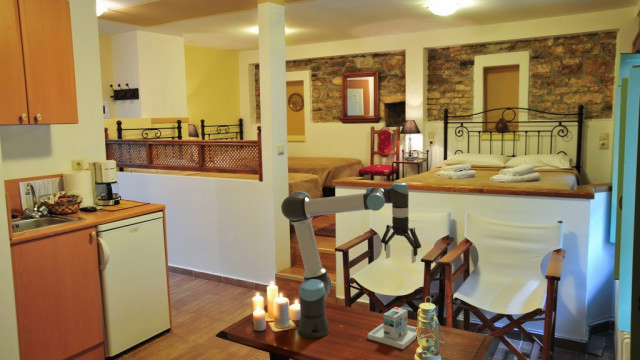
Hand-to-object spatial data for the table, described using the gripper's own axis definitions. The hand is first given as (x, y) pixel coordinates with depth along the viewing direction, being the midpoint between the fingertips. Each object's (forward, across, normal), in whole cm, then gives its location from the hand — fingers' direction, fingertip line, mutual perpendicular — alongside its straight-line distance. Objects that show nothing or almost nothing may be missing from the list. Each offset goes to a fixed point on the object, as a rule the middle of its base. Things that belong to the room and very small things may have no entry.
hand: (400, 260), depth 235 cm
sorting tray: (+32, -4, +13) cm, 34 cm away
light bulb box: (+31, -4, +13) cm, 34 cm away
